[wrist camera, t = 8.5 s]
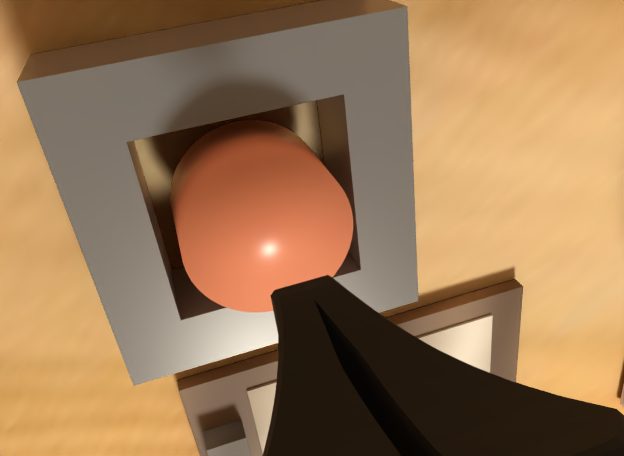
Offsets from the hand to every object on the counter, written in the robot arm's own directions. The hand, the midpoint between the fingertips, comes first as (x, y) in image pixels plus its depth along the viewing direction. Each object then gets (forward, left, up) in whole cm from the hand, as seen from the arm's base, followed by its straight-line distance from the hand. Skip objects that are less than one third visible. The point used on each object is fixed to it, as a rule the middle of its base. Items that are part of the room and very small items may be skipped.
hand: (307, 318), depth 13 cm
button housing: (0, 0, -8) cm, 8 cm away
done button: (0, 0, -7) cm, 7 cm away
